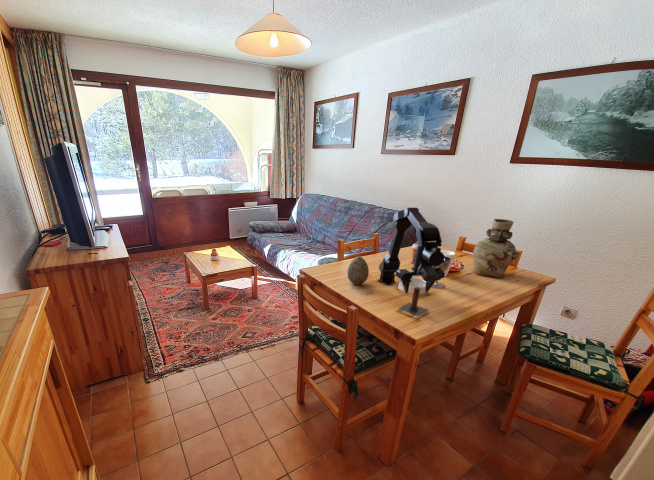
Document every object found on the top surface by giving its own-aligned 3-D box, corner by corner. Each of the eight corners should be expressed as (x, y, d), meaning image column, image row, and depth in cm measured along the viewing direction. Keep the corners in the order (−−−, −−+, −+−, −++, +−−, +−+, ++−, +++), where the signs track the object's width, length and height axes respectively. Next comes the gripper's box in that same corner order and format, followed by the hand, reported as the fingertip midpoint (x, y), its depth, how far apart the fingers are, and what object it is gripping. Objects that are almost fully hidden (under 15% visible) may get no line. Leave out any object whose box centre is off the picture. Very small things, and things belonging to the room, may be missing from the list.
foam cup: (432, 275, 173) (436, 253, 168) (431, 270, 181) (435, 249, 176) (451, 278, 170) (456, 255, 165) (449, 272, 178) (454, 251, 173)
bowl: (392, 290, 155) (393, 281, 153) (406, 283, 163) (408, 275, 161) (417, 299, 146) (418, 289, 144) (431, 292, 153) (432, 282, 151)
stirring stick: (407, 308, 134) (411, 287, 130) (411, 306, 136) (415, 285, 132) (415, 312, 131) (419, 290, 127) (419, 309, 133) (423, 288, 129)
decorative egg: (342, 281, 166) (345, 254, 160) (361, 279, 169) (363, 253, 163) (352, 289, 157) (354, 261, 151) (371, 286, 159) (374, 259, 153)
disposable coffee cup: (428, 266, 188) (432, 247, 184) (412, 265, 188) (416, 247, 184) (421, 260, 197) (425, 242, 192) (407, 260, 197) (410, 242, 193)
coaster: (397, 311, 135) (398, 308, 134) (408, 305, 140) (409, 302, 139) (417, 319, 128) (417, 316, 128) (428, 313, 133) (428, 309, 133)
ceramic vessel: (499, 282, 164) (516, 226, 153) (462, 270, 182) (474, 219, 170) (519, 276, 173) (536, 223, 161) (481, 265, 190) (494, 216, 178)
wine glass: (446, 288, 157) (452, 261, 151) (429, 287, 158) (435, 260, 152) (442, 282, 164) (448, 256, 158) (426, 281, 165) (431, 255, 160)
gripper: (412, 265, 116) (405, 302, 122) (457, 263, 118) (448, 299, 124) (397, 256, 126) (392, 290, 132) (439, 254, 128) (432, 288, 135)
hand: (416, 292), depth 130 cm, fingers open, 9 cm apart
